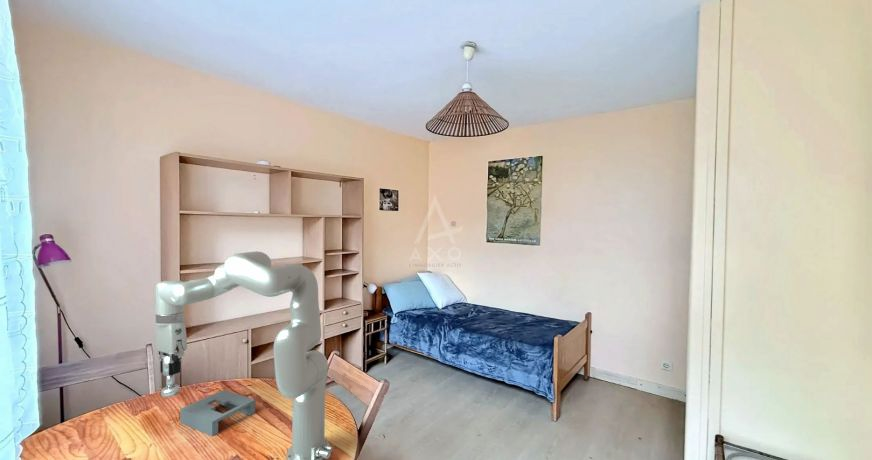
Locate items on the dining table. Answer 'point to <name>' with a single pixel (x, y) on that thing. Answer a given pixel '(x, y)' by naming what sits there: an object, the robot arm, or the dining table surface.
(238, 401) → the keyhole plate
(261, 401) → the dining table surface
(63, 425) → the dining table surface
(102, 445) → the dining table surface
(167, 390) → the steel peg
